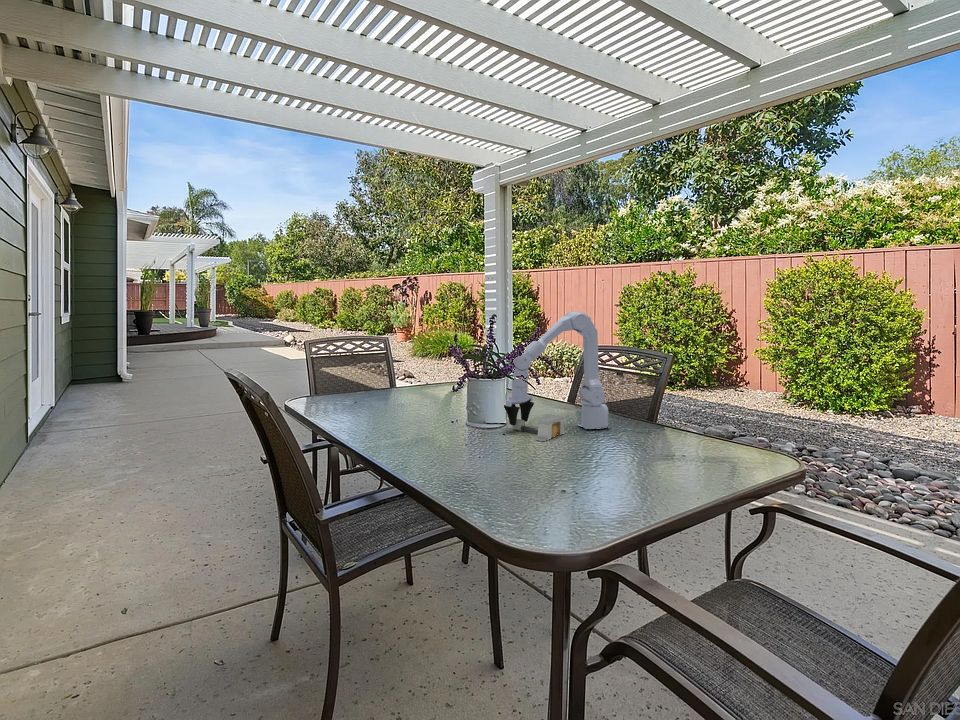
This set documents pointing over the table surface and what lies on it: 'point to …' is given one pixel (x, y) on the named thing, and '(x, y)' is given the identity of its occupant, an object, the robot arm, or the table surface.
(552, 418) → the housing
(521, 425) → the plug
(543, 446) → the table surface
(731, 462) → the table surface
